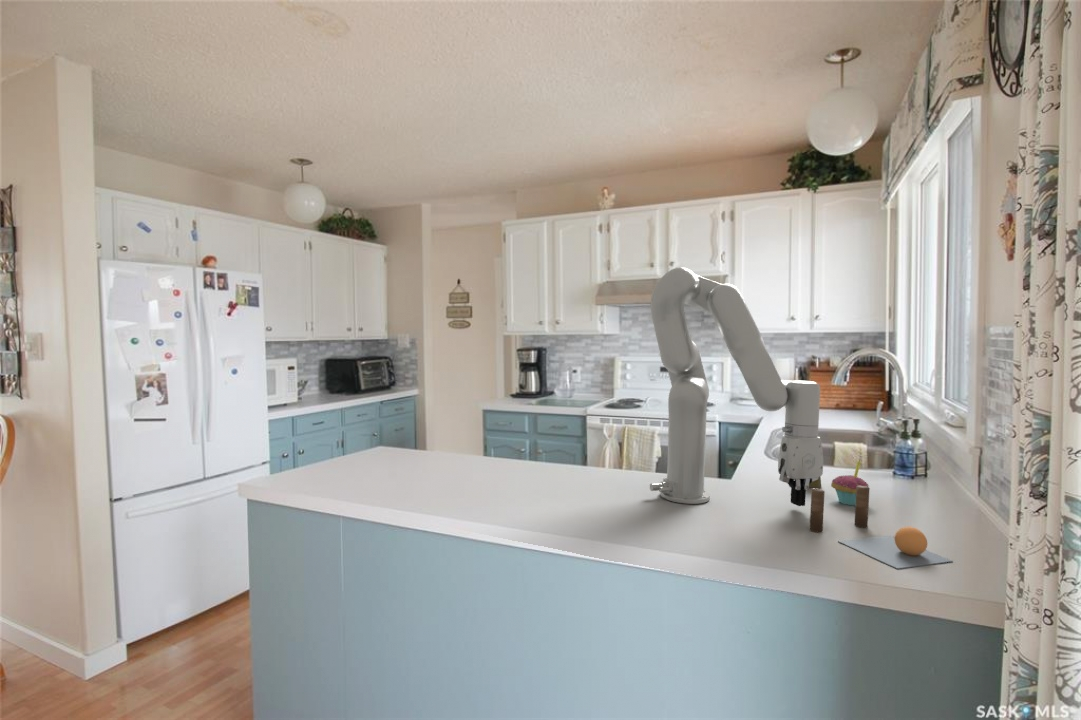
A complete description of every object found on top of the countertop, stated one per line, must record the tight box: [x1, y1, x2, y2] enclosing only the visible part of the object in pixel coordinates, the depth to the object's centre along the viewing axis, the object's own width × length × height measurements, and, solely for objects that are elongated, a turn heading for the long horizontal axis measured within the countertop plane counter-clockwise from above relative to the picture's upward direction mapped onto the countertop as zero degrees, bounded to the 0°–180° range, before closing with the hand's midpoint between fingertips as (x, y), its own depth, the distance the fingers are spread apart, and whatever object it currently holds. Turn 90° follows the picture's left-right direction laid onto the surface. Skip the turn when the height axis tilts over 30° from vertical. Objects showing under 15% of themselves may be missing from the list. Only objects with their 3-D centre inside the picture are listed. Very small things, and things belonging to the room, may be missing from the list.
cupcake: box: [830, 458, 870, 506], centre depth 148 cm, size 9×8×12 cm
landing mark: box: [838, 535, 954, 570], centre depth 116 cm, size 14×14×1 cm
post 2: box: [854, 486, 871, 529], centre depth 131 cm, size 3×3×9 cm
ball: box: [894, 526, 928, 556], centre depth 114 cm, size 6×6×6 cm
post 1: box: [809, 488, 825, 533], centre depth 127 cm, size 3×3×9 cm
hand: (797, 504), depth 142 cm, fingers closed
